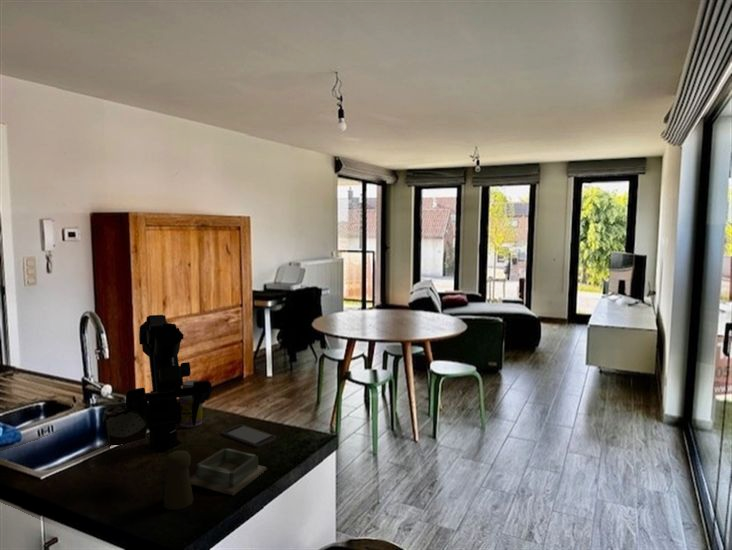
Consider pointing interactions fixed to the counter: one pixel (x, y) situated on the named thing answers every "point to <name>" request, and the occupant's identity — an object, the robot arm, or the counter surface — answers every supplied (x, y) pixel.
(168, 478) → the cork
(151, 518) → the counter surface
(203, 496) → the counter surface
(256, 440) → the smartphone
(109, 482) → the counter surface
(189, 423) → the supplement bottle
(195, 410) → the robot arm
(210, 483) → the collar holder
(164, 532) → the counter surface
